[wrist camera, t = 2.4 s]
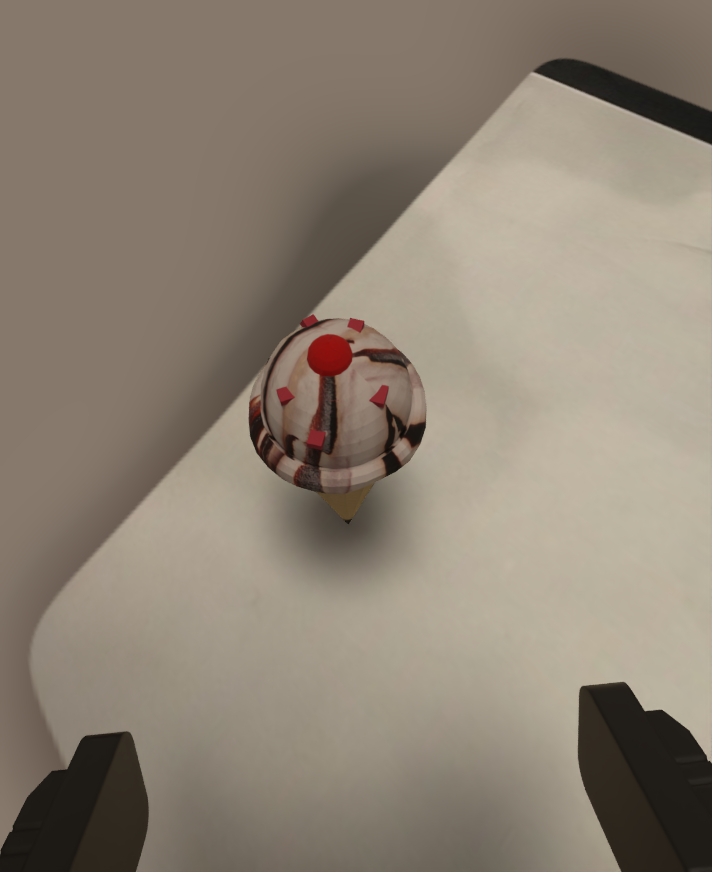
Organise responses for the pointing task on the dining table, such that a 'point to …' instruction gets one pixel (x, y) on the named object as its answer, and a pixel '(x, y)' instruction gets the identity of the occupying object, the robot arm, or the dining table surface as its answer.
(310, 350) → the ice cream cone
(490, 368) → the dining table surface
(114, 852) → the robot arm
